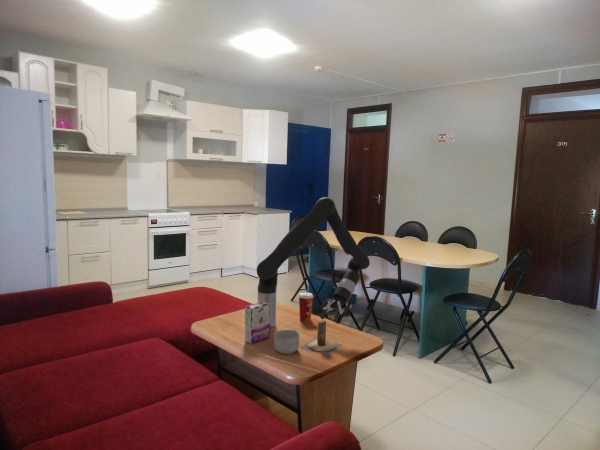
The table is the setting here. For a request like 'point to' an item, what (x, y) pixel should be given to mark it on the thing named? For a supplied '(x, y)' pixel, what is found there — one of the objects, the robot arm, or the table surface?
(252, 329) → the candy bar box
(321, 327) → the oak lid
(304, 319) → the paper cup
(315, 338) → the rubber mat
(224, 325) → the table surface
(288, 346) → the teacup
